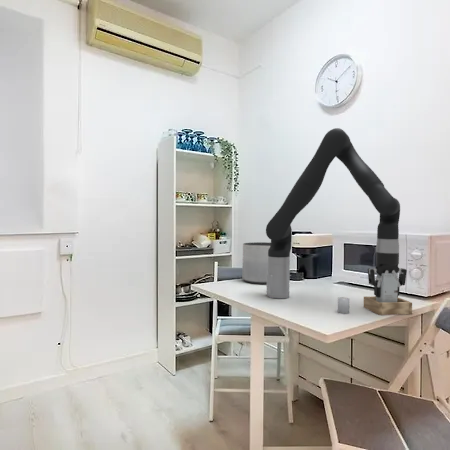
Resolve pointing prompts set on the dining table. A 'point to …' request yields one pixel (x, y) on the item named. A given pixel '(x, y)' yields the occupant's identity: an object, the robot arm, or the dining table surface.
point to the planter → (255, 262)
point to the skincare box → (388, 288)
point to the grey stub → (343, 305)
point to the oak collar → (388, 306)
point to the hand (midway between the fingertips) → (386, 296)
